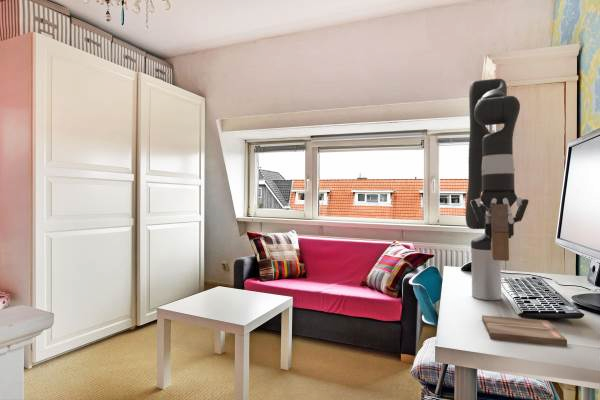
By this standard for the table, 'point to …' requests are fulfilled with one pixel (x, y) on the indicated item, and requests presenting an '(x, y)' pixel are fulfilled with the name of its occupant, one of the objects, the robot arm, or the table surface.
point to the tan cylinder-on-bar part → (499, 232)
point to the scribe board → (523, 330)
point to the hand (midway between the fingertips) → (498, 237)
